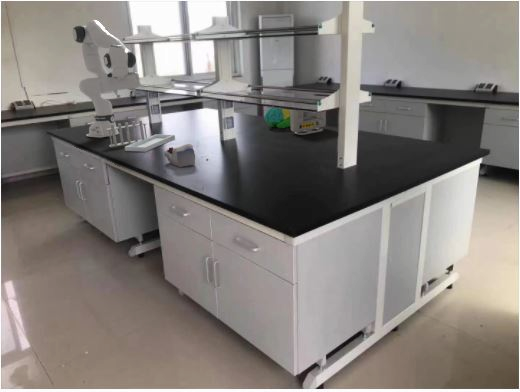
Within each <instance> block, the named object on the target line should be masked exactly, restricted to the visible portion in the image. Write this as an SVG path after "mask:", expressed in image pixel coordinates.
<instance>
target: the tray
mask: <svg viewBox="0 0 520 392" xmlns="http://www.w3.org/2000/svg"><path fill="white" fill-rule="evenodd" d="M175 139H176V134H160V133H159V134H156V133H155V134H153V135H151V136H149V137H148V136H147V138H146V137H145V138H144V139H143V140H141V139H139V140H140V141H138V142H135V143H133V144H127V145H126V146H125V145H124V151H126V152H144V153H145V152H148V151H150V150H153V149H155V148H157V147H160V146H161V145H164V144H166V143H168V142H171V141H173V140H175Z"/></svg>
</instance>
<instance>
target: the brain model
mask: <svg viewBox="0 0 520 392" xmlns="http://www.w3.org/2000/svg"><path fill="white" fill-rule="evenodd" d="M264 121H265V122H266V123H267V124H268V125H269V126H270V127H272V128H274V127H277V128H278V129H286V128H288V127H290V128H291V123H290V110H287V109H279V108H272V107H271V108H269V109H268V110H267V112H266V113H265V114H264Z"/></svg>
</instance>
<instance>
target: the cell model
mask: <svg viewBox="0 0 520 392" xmlns="http://www.w3.org/2000/svg"><path fill="white" fill-rule="evenodd" d="M163 154H164V156H165V157H166V159H167V161H168V162H169V163H170V164H172V165H174V166H176V167H179V168H183V167H188V166H190V167H191V166H195V165H196V154H195V149H194V147H193V145H192V144H190V143H186V144H183V145H181V146H177V147H173V146H171V147H169V148H168V149H167V150H165V151H164V152H163Z"/></svg>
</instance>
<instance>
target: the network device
mask: <svg viewBox="0 0 520 392" xmlns="http://www.w3.org/2000/svg"><path fill="white" fill-rule="evenodd" d="M290 123H291V126H290V131H292V132H294V134H295V135H300V136H301V135H308V134H314V133H318V132H322V131H324V129H323V128H325V127H326V124H327V110H326V111H324V112H319V113H312V112H304V111H296V110H290Z"/></svg>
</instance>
